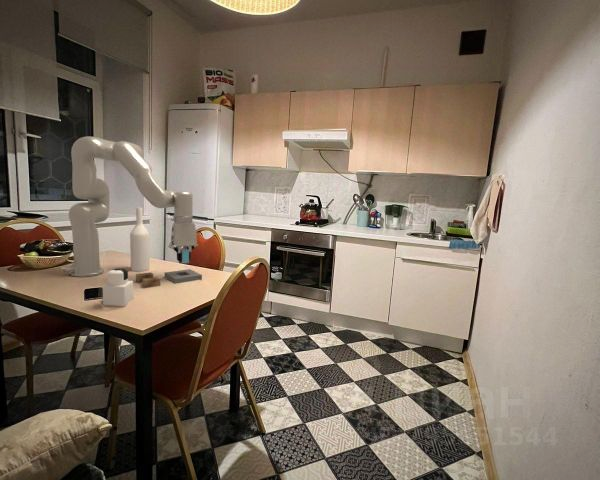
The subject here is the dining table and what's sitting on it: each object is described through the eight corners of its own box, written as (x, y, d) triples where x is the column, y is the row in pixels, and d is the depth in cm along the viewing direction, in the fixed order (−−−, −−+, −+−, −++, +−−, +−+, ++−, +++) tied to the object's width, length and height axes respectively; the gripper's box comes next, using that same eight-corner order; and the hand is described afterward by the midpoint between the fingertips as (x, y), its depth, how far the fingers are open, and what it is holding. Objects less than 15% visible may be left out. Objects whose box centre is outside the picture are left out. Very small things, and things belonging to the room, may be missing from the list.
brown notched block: (145, 289, 126) (144, 280, 125) (136, 282, 134) (135, 274, 133) (160, 286, 130) (160, 278, 129) (150, 280, 138) (150, 272, 137)
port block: (175, 284, 134) (175, 278, 133) (164, 277, 142) (164, 272, 142) (201, 280, 142) (201, 274, 142) (190, 274, 151) (190, 269, 150)
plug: (182, 263, 139) (182, 250, 138) (178, 261, 141) (178, 248, 140) (189, 262, 141) (189, 249, 140) (185, 260, 143) (185, 247, 142)
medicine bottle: (113, 299, 113) (112, 266, 112) (133, 299, 114) (133, 267, 112) (102, 306, 106) (101, 271, 105) (124, 307, 107) (123, 272, 105)
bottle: (131, 272, 148) (129, 208, 144) (130, 267, 155) (129, 206, 151) (150, 270, 152) (149, 208, 148) (148, 266, 159) (148, 207, 155)
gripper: (168, 221, 130) (168, 265, 133) (204, 220, 141) (204, 260, 144) (161, 219, 135) (161, 261, 138) (197, 218, 146) (197, 257, 149)
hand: (183, 260), depth 141 cm, fingers closed on plug, 2 cm apart
